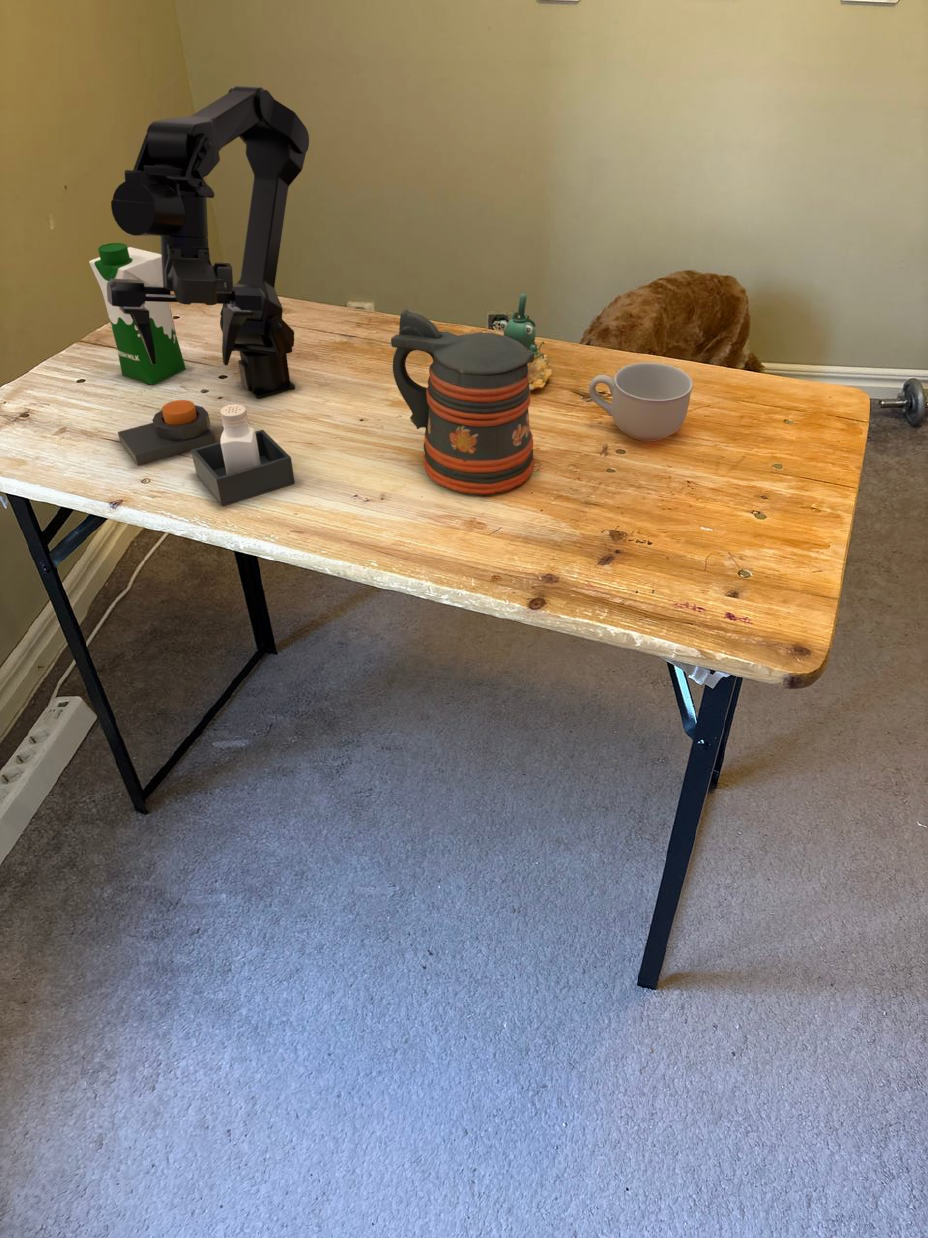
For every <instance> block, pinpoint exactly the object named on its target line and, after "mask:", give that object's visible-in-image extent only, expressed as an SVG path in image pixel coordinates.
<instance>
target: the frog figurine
mask: <svg viewBox="0 0 928 1238" xmlns="http://www.w3.org/2000/svg"><path fill="white" fill-rule="evenodd" d="M527 298H528V295H527V293H525V292H522V293H520V295H519V302H518V309H517V311H515V312H514V313H513V315H512V318H511V319H510V320H509V321H507V320H506V317H507V316H506V315H505V314H504V313H500V314H498V315H497V316H496V321H497V322H498V321H499V326H500V329H501V330H502V331H503V336H507V337H509V338H512V339H514V340H516V341H518V342H519V343H521V344H522V345H523V346H525V348H526V349H527V350H528V352H534V361H533V362H531V363H528V364H527V365H528V380H529V388H530V392H531V391H534V390H535V389H536V390H540V389H544V387H545V385H546V382H547V381H548V379H549V378H550V377H551V375H552V373H553V370H552V369H551V368H550V367H551V366H550V365H549V364H550V361H548V354H547V353H542V352H541V348H542V346H543V345H545V342H544V341H541V343H540V345H539V347H538V344H537V343H536V323H535V322H534V321H533V319H531V318H530V316H529V315H528V314H526V313H525V312H526V305H527V304H526V303H527ZM525 314H526V315H525ZM500 319H501V320H500Z"/></svg>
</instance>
